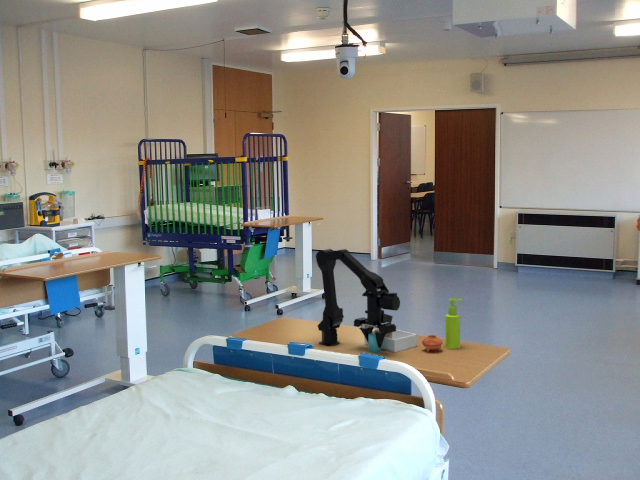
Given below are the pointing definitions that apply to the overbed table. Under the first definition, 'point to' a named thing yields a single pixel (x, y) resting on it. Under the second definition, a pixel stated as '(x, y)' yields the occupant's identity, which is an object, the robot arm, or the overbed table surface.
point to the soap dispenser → (452, 326)
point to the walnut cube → (388, 335)
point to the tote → (398, 341)
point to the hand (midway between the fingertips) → (374, 346)
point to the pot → (432, 342)
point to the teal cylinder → (373, 343)
